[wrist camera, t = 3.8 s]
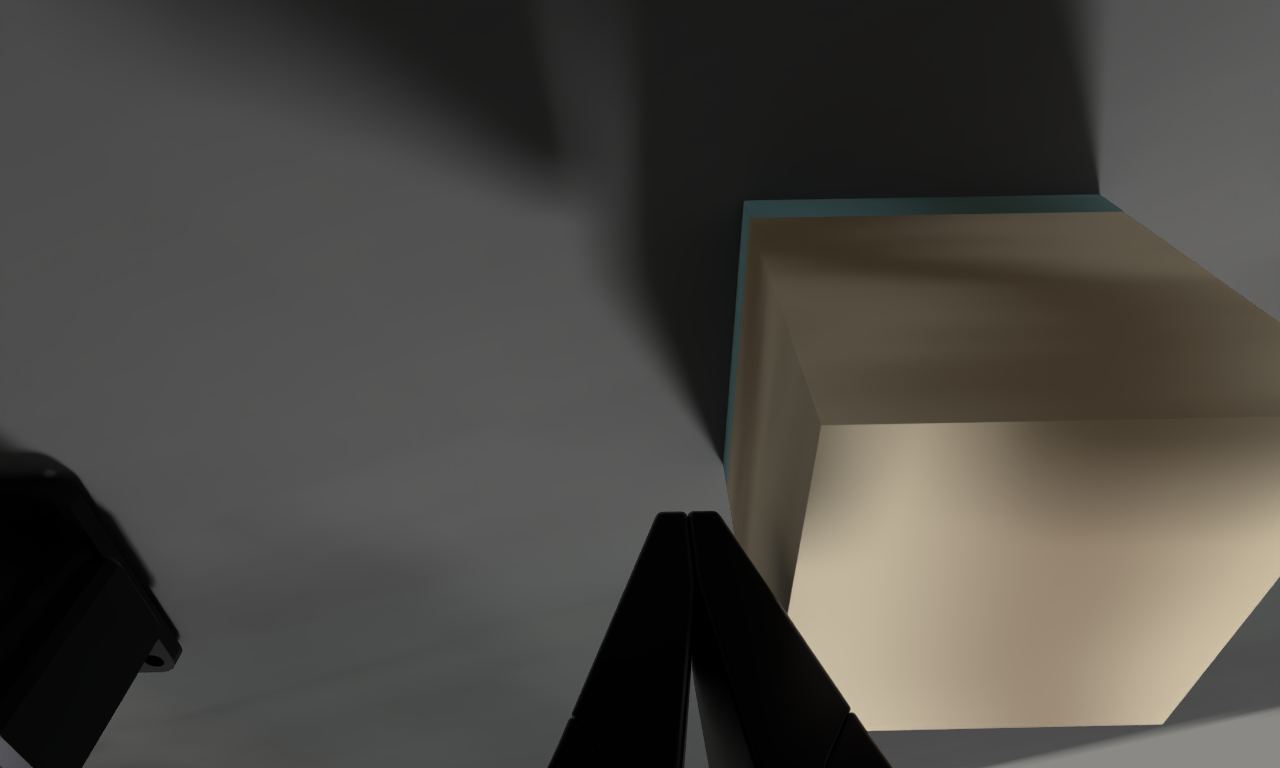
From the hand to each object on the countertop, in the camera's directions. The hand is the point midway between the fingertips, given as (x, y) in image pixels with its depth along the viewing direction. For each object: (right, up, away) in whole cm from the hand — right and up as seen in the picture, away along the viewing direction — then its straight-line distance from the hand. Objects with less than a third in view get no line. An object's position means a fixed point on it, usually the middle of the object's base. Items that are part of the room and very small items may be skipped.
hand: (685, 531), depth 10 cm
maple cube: (+4, +3, +4) cm, 6 cm away
